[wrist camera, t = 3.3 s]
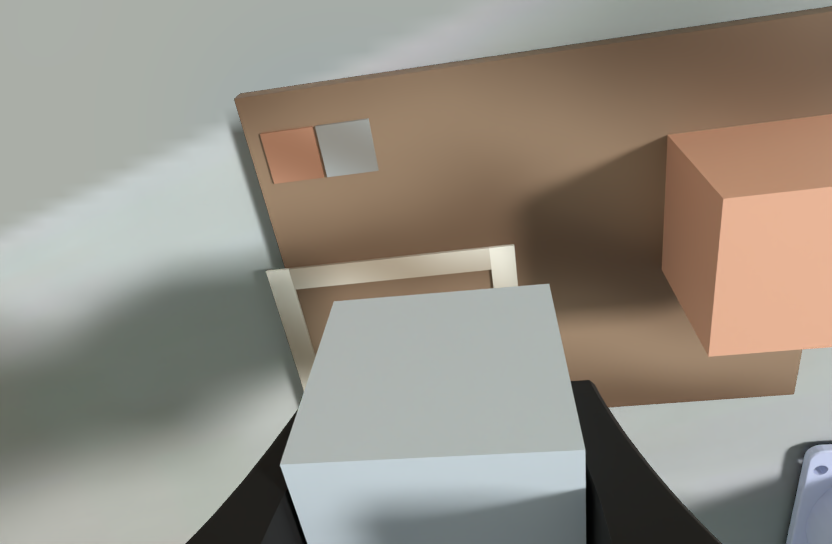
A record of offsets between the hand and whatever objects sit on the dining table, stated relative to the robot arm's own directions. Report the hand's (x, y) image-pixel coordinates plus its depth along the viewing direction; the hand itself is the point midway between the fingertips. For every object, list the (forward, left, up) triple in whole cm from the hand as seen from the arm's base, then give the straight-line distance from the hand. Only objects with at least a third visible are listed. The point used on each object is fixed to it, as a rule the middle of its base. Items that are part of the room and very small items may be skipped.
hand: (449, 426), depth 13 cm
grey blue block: (0, 0, -2) cm, 2 cm away
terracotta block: (0, -9, -8) cm, 12 cm away
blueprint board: (-1, -3, -9) cm, 9 cm away
